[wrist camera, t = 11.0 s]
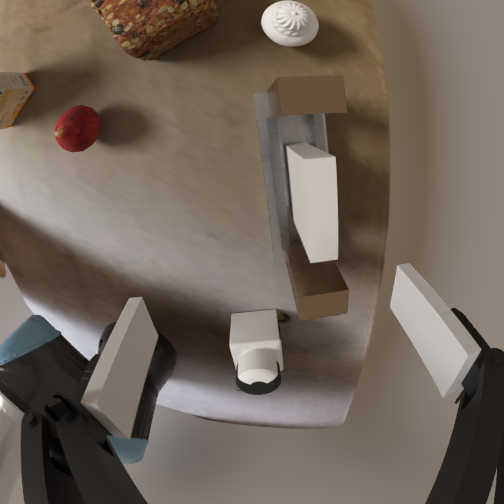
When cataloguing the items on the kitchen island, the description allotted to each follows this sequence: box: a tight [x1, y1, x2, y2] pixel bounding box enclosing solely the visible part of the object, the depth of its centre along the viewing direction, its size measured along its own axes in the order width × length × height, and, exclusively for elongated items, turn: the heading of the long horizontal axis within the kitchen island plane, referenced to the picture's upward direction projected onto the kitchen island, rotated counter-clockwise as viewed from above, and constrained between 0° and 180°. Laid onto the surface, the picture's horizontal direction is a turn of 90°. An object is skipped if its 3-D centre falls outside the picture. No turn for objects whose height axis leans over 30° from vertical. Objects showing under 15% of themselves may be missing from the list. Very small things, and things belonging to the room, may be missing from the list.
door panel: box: [284, 142, 338, 263], centre depth 27 cm, size 9×2×12 cm, turn 8°
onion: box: [54, 105, 101, 152], centre depth 25 cm, size 6×6×8 cm
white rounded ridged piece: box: [261, 1, 319, 47], centre depth 21 cm, size 6×6×7 cm
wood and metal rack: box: [253, 76, 349, 321], centre depth 27 cm, size 22×8×13 cm, turn 8°
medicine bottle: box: [229, 309, 283, 395], centre depth 39 cm, size 7×7×12 cm
